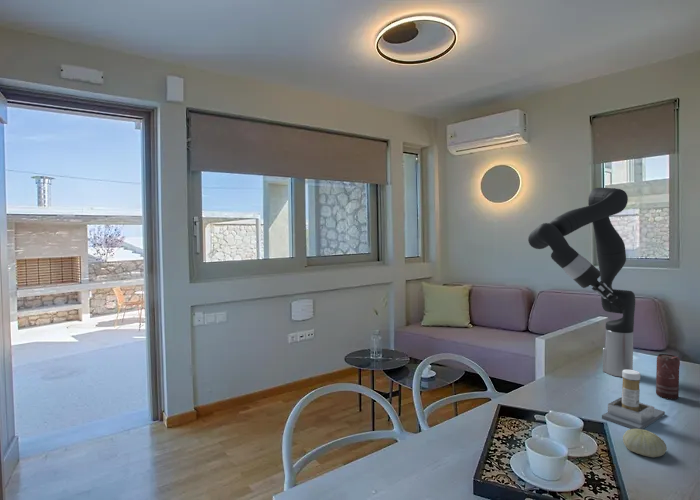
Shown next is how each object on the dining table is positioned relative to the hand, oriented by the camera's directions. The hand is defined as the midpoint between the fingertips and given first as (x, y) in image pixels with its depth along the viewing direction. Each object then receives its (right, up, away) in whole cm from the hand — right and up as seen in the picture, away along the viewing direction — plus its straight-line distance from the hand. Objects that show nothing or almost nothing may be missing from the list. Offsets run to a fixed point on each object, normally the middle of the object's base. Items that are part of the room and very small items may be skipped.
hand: (620, 306), depth 136 cm
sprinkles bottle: (-3, -32, -9) cm, 33 cm away
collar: (-3, -32, -9) cm, 33 cm away
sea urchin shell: (-11, -34, -27) cm, 45 cm away
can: (+20, -32, +7) cm, 39 cm away
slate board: (-1, -33, -8) cm, 34 cm away
